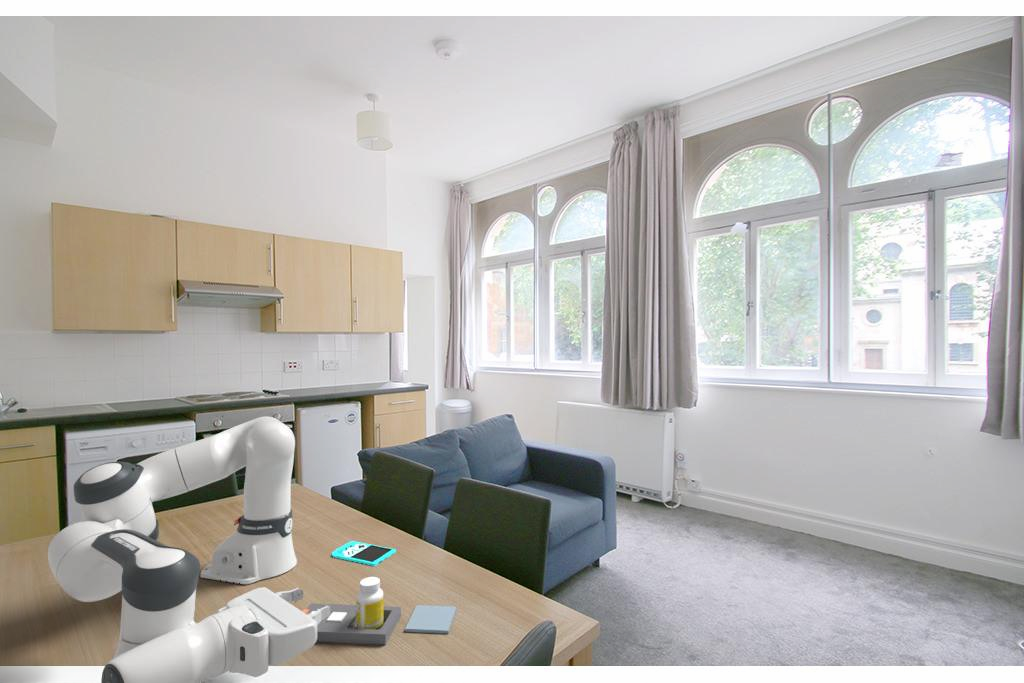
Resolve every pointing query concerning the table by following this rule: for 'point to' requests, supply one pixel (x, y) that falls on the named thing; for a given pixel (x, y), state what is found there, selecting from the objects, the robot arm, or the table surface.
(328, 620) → the power strip
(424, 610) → the rubber mat
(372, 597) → the supplement bottle
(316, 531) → the table surface
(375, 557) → the handheld game console
